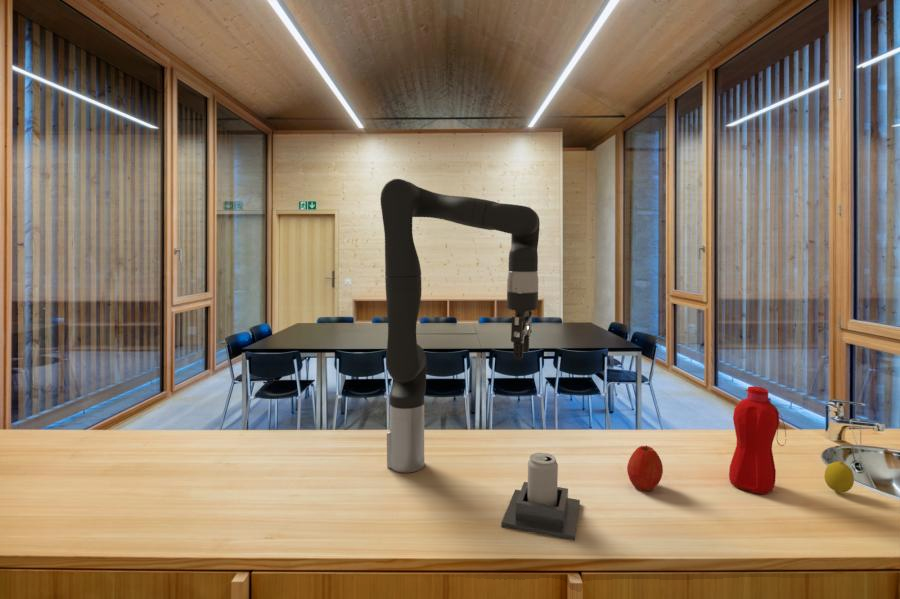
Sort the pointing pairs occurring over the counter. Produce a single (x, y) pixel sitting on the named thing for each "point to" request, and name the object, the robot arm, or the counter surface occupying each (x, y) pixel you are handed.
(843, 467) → the lemon
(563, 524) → the grey square socket holder
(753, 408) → the water bottle
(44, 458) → the counter surface
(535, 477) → the beverage can
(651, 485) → the apple
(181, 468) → the counter surface
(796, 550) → the counter surface
